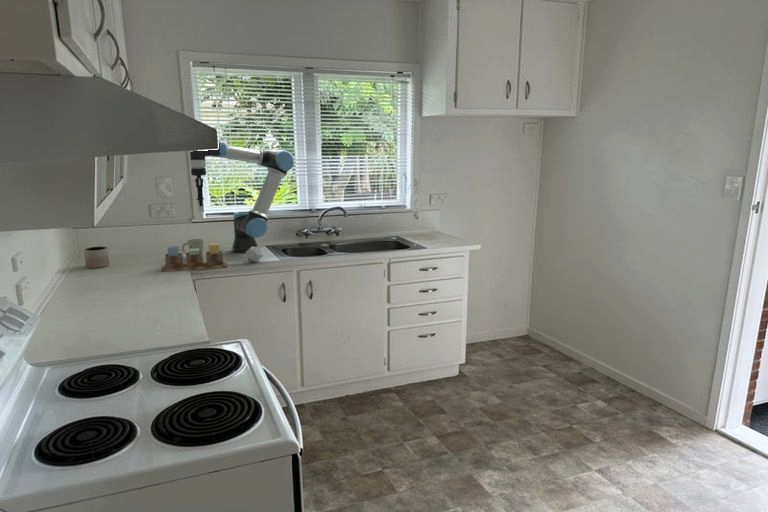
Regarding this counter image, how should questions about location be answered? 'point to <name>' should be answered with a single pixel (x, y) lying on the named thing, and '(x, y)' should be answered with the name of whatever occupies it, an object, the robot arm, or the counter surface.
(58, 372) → the counter surface
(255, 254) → the die
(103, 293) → the counter surface
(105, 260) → the planter
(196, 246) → the mug
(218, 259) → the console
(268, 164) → the robot arm
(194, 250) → the button sage
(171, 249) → the button slate
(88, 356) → the counter surface
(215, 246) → the button ochre
